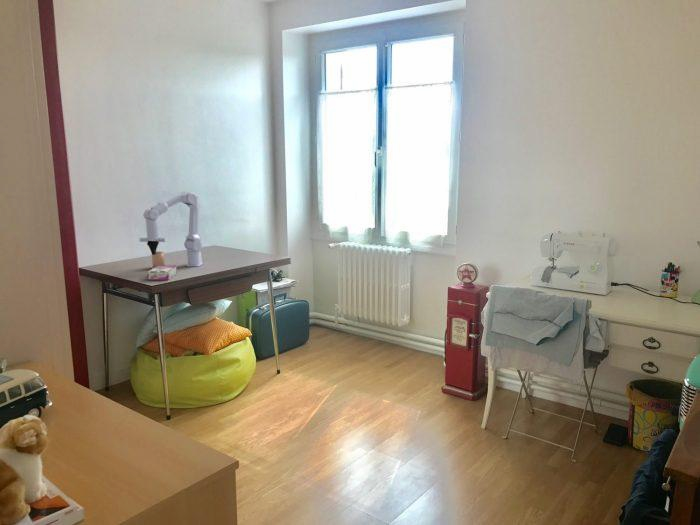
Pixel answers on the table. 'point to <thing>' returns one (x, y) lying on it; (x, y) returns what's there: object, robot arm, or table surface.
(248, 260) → the table surface
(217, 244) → the table surface
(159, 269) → the candy bar box
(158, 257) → the terracotta pencil cup
